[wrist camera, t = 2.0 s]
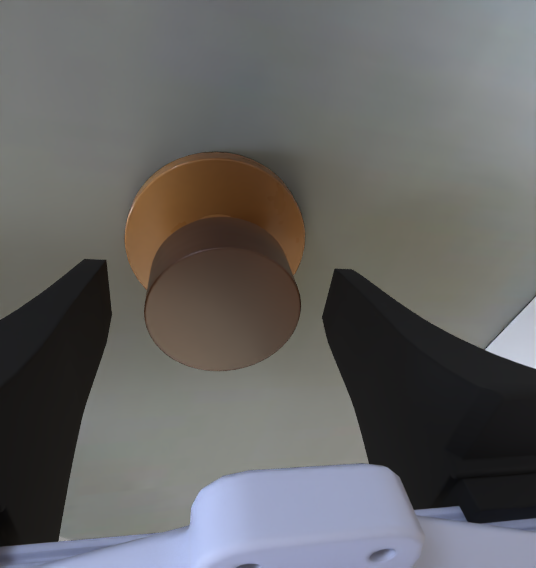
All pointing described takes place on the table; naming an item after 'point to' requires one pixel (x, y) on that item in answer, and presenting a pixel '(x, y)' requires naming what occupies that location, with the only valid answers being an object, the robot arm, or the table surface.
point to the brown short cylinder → (221, 295)
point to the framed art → (518, 338)
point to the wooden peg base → (210, 205)
